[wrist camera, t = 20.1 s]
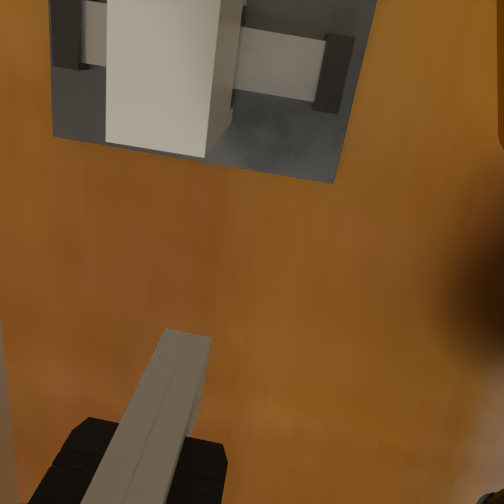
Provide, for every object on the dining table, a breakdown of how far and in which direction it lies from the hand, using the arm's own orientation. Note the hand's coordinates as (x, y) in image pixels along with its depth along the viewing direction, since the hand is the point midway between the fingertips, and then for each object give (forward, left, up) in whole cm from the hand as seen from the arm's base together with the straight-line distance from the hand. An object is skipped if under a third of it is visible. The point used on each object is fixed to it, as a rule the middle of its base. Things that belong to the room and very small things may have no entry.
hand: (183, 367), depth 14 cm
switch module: (-3, -9, -19) cm, 22 cm away
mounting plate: (-3, -9, -20) cm, 22 cm away
